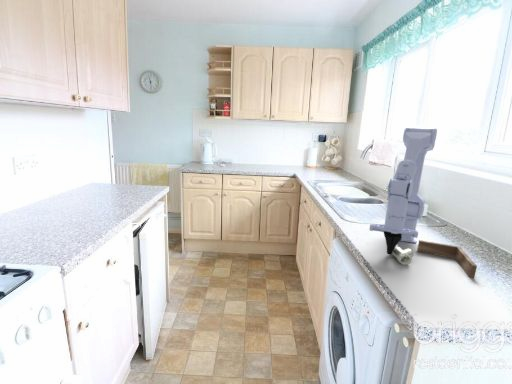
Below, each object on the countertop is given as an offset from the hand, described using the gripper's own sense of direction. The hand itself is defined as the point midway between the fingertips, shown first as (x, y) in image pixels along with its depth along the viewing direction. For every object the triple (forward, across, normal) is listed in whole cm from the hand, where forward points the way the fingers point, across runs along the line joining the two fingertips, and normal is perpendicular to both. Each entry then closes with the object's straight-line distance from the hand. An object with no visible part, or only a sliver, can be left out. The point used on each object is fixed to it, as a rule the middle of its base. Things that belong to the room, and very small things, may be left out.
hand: (389, 253), depth 97 cm
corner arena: (+1, +17, +3) cm, 17 cm away
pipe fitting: (+2, +5, 0) cm, 5 cm away
